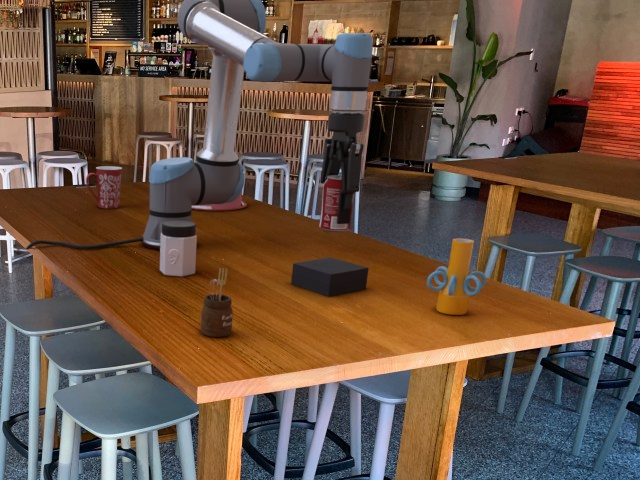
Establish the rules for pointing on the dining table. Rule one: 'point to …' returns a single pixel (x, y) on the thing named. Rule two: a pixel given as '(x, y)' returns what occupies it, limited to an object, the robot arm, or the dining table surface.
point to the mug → (107, 186)
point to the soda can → (332, 206)
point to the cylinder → (456, 279)
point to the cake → (223, 205)
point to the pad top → (330, 271)
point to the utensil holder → (217, 312)
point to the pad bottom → (328, 286)
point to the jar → (178, 248)
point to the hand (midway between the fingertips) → (335, 220)
